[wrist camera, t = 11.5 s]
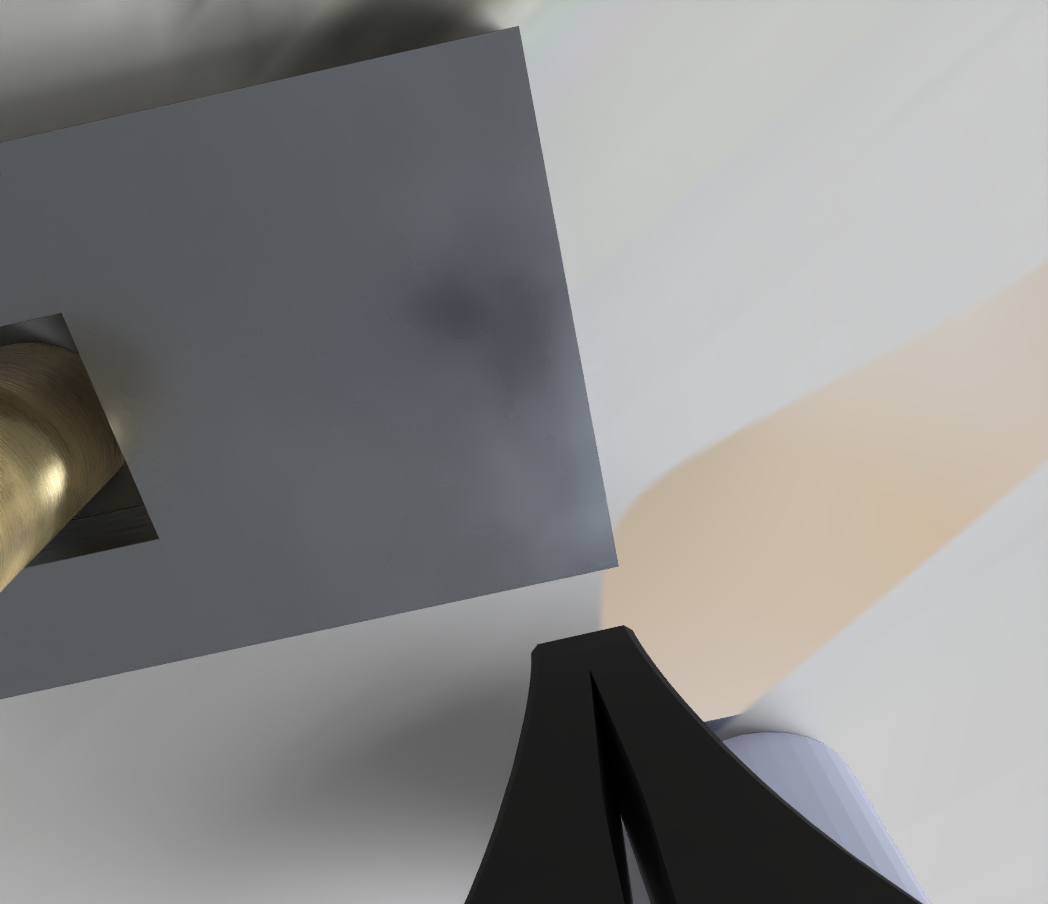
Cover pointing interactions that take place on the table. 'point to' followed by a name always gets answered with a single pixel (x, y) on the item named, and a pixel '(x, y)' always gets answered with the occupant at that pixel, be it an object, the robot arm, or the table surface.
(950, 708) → the table surface
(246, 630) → the plate
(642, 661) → the robot arm
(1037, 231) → the table surface
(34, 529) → the brass bushing
